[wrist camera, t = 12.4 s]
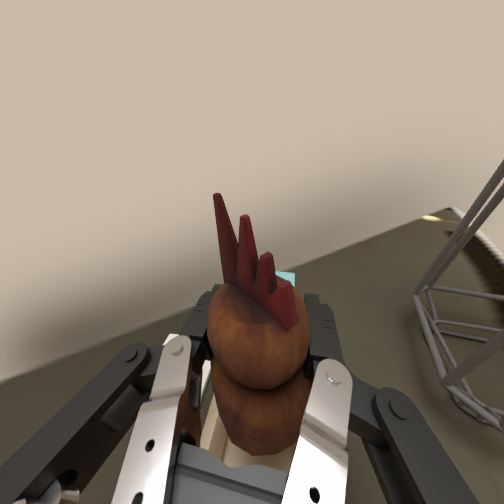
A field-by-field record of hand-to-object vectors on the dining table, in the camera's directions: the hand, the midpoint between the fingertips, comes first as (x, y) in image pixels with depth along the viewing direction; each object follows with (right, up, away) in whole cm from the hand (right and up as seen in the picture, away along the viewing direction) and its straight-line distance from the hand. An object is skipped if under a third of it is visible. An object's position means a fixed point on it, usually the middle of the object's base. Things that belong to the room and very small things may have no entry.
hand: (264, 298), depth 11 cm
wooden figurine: (0, -8, +2) cm, 9 cm away
